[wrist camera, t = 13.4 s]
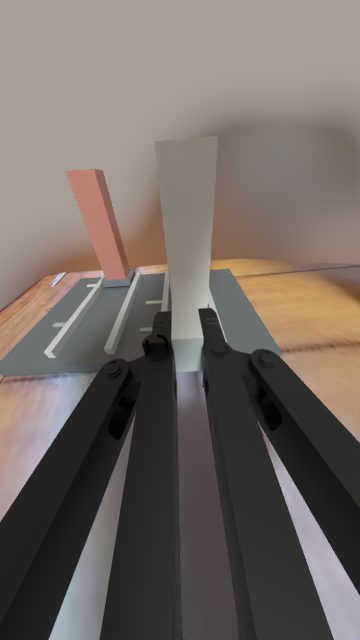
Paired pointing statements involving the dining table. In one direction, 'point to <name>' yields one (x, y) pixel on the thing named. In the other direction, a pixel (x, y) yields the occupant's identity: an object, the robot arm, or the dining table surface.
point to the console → (125, 324)
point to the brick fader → (101, 225)
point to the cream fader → (188, 208)
